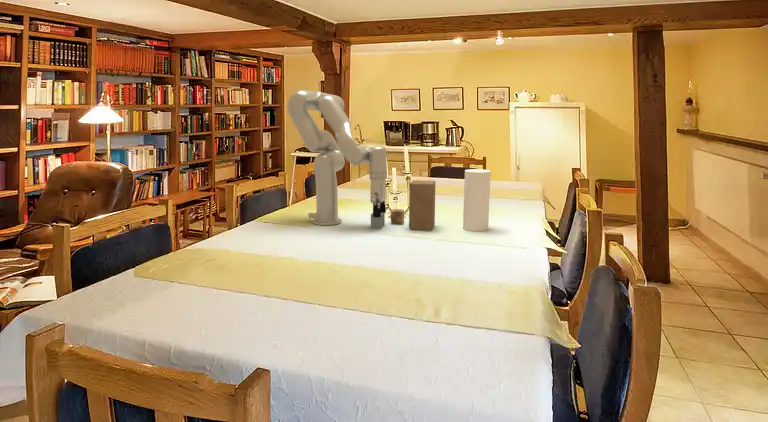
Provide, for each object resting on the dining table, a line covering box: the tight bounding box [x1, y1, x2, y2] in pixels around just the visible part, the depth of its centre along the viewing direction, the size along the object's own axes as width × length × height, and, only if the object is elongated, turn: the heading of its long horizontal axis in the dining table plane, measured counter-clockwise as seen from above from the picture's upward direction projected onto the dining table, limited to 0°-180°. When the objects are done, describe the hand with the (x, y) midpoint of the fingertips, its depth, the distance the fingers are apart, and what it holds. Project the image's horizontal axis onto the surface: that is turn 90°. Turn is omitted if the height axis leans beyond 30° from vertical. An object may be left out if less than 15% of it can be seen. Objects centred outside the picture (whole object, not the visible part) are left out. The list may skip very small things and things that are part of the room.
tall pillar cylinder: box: [462, 168, 492, 232], centre depth 219 cm, size 11×11×25 cm
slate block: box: [370, 212, 386, 229], centre depth 223 cm, size 5×5×6 cm
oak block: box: [390, 208, 405, 226], centre depth 231 cm, size 5×5×6 cm
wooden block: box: [408, 179, 436, 231], centre depth 221 cm, size 10×10×20 cm
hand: (379, 214), depth 223 cm, fingers open, 9 cm apart
